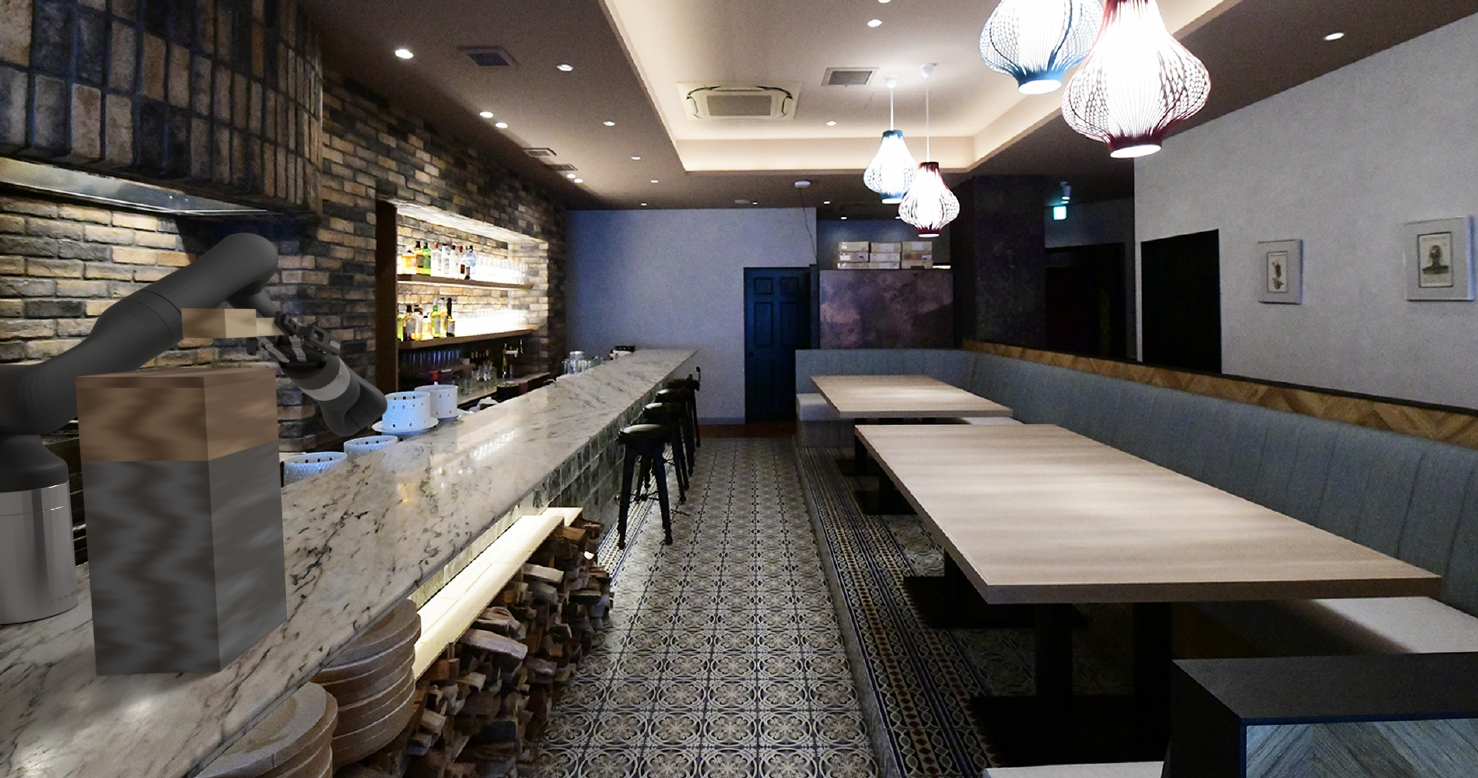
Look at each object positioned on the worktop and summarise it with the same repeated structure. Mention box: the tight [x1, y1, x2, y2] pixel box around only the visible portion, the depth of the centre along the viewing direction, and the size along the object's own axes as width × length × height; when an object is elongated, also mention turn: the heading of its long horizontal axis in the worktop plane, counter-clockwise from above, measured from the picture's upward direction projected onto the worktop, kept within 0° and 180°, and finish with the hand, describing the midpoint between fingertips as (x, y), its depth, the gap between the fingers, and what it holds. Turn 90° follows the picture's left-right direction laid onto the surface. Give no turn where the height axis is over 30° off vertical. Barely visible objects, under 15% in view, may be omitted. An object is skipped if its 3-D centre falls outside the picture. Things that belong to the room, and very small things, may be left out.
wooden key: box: [181, 308, 298, 339], centre depth 103 cm, size 5×20×4 cm, turn 5°
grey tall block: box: [75, 367, 288, 676], centre depth 91 cm, size 13×15×33 cm
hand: (264, 316), depth 107 cm, fingers closed on wooden key, 3 cm apart
